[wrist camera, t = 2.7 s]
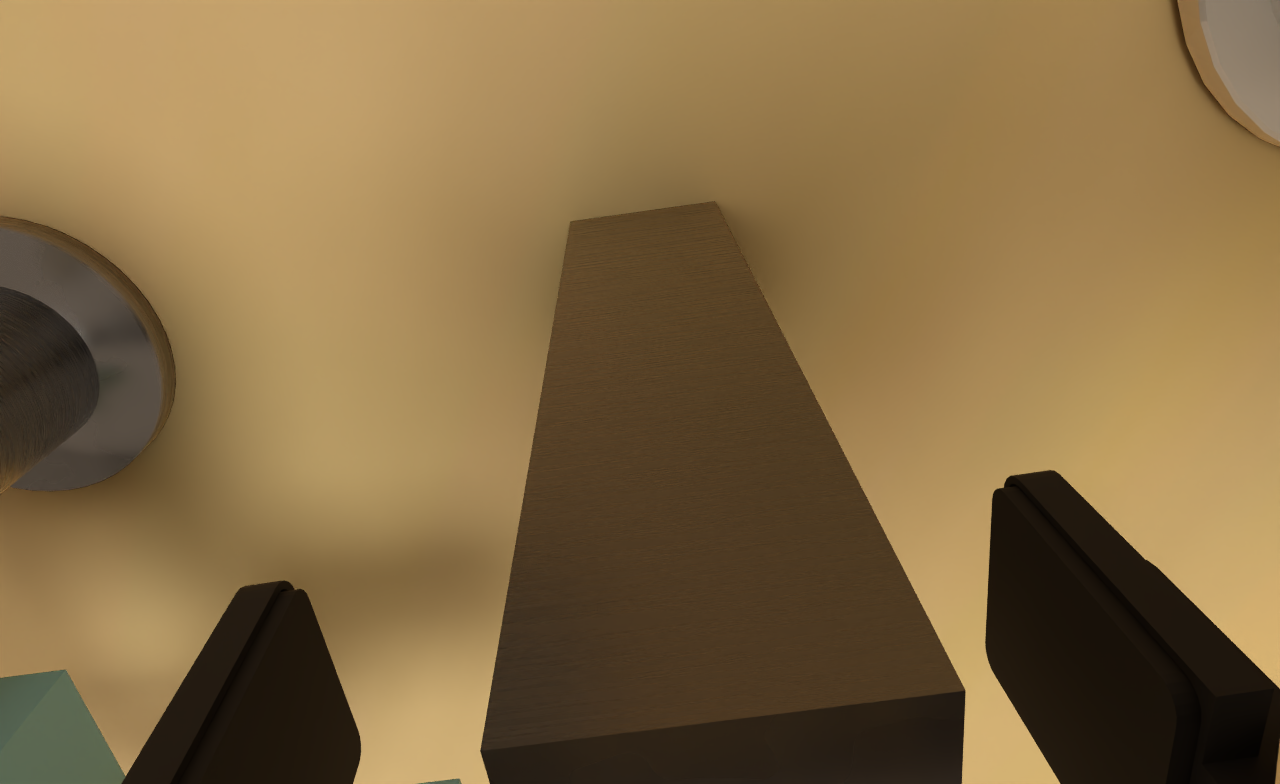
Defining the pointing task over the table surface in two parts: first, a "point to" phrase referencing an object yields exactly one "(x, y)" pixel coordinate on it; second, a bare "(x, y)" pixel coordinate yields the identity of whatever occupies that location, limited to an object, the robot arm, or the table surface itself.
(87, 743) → the teal square frame handle
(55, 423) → the grey tall round-topped piece
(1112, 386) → the table surface
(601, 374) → the steel wedge pin
